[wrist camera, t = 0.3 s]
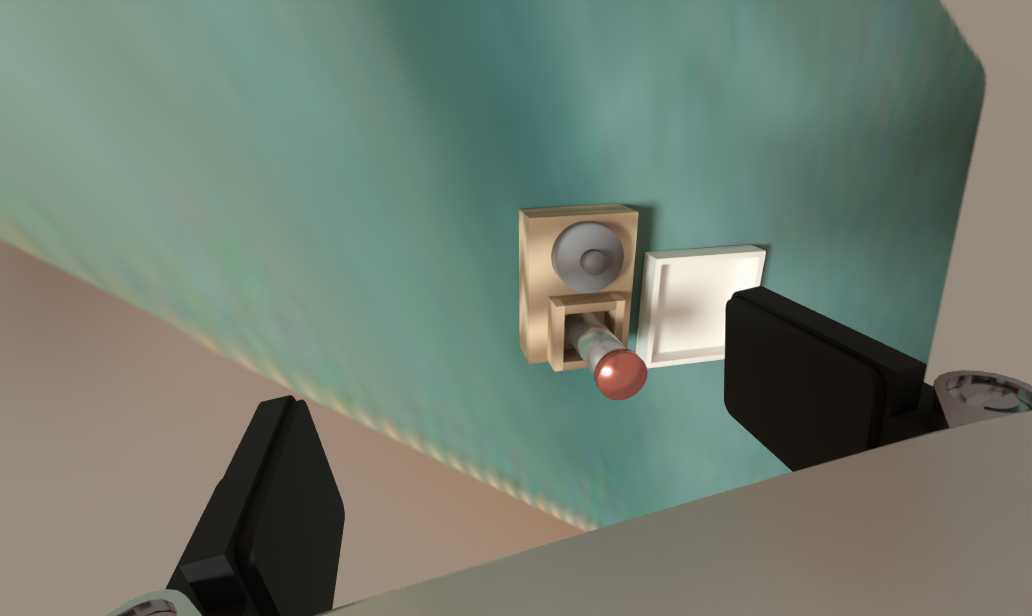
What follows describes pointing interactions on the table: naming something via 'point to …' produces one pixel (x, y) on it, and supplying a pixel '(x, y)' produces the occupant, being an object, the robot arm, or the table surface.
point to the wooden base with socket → (573, 276)
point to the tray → (691, 301)
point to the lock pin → (605, 356)
